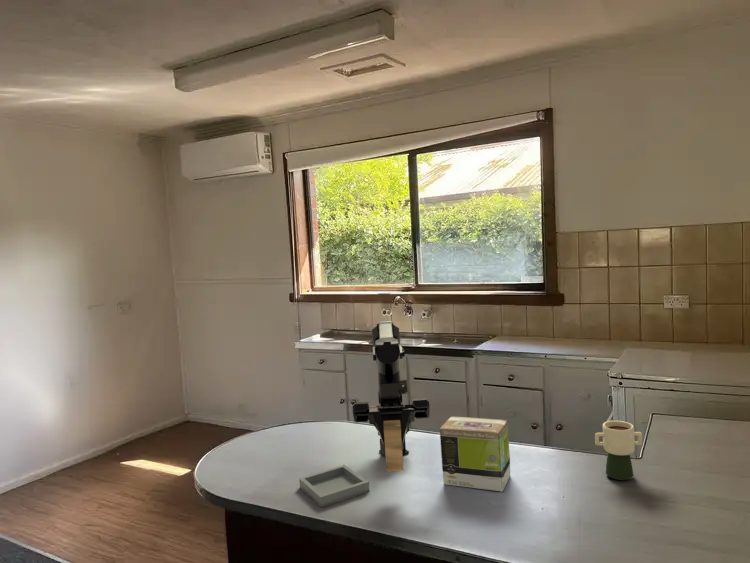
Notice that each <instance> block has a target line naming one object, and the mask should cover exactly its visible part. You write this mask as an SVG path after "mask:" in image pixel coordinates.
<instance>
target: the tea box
mask: <svg viewBox="0 0 750 563" xmlns="http://www.w3.org/2000/svg"><path fill="white" fill-rule="evenodd" d="M439 438H440V454H441V469H442V481H443V484H444V485H447V486H455V487H463V488H464V487H465V488H470V489H471V488H472V489H480V490H486V491H487V490H488V491H496V492H503V491H504V489H505V487H506V485H507V483H508V482H509V479H510V477H511V455H510V442H509V440H510V439H509V426H508V419H495V418H484V417H483V418H481V417H469V416H468V417H466V416H452V415H451V416H450V417H449V418H448V419H447V420H446V421H445V423H443V424H442V426H441V427H440V428H439Z"/></svg>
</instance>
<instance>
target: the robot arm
mask: <svg viewBox="0 0 750 563" xmlns="http://www.w3.org/2000/svg"><path fill="white" fill-rule="evenodd" d="M371 336H372V338H371V340H372V346H373V347H372V359H373V361H375V363H376V367H377V368H376V369H377V383H378V392H377V393H378V394H377V395H378V404H379V405H370V404H369V401H360V402H359V401H358V402H354V403H353V404H352V416H353V421H354V422H355V423H367V422H368V423H369V425H372V426H374V428H375V429H376V431H377V436H378V437H379V450H378V453H380V454H382V455H383V456H384V457H386V455H385V440H384V421H390V420H400V425H401V440H402V456H404V455H407V454H409V453H410V451H409V450H408V449H407V445H406V435H408V433H409V432H410V431H411V430H410V424H411V423H414V422H415V419H419V420H420V419H428V418H430V413H431V412H430V400H429V399H428V398H426V397H425V398H422V397H421V398H412V404H403V395H406V394H408V392H409V391H408V380H407V379H401V370H400V369H401V368H400V366H401V360H402V359H403V358H404V357H406V356H405V349H404V348H403V346H402V344H401V338H400V328H399V327H398V326H396V325H395V324H394V321H392V320H384V321H378V322H376V326H375V327H373V329H371Z"/></svg>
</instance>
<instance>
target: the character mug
mask: <svg viewBox="0 0 750 563" xmlns="http://www.w3.org/2000/svg"><path fill="white" fill-rule="evenodd" d="M600 437H602V441H600ZM635 437H637V441H636V440H635ZM594 444H595V446H597V447H599V446H600V447H602V446H603V449H604V451H605V452H606V453H607V455H606V464H605V465H606V467H605V474H606V476H608V477H610V478H611V479H615V480H619V481H627V480H630V479H632V478H634V470H633V464H632V460H631V459H632V458H631V455H632V454H633V453H634V452H635V450H636V449H635V446H642V444H643V433H642V432H641V431H635V426H634V425H633V424H632V423H630V422H627V421H623V420H607V421H605V422H603V423H602V432H596V433H594Z"/></svg>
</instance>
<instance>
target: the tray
mask: <svg viewBox="0 0 750 563" xmlns="http://www.w3.org/2000/svg"><path fill="white" fill-rule="evenodd" d="M299 488H300V489H301V490H302V491H303V492H304V493H306V495H307V496H308V497H310V498H311V500H313V501H314V502H315V503H316V504H317V505H318V506H319V507H320V508H324V507H327V506H331V505H333V504H336V503H340V502H343V501H345V500H347V499H351V498H354V497H357V496H360V495H363V494H367V493H369V492H370V483H369V481H368V480H367V479H366V478H364V477H363V476H361V475H359V474H358V473H357V472H355V470H353V469H351V468H350V467H349V466H347V465H345V464H342V465H339V466H335V467H332V468H329V469H325V470H321V471H318V472H316V473H311V474H309V475H305V476H302V477H299Z"/></svg>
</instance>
